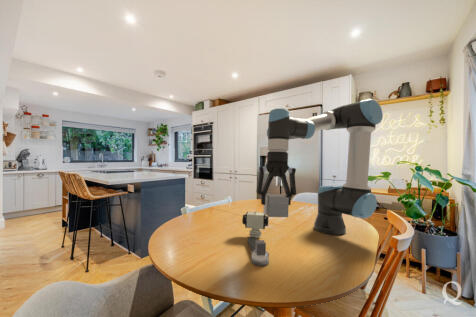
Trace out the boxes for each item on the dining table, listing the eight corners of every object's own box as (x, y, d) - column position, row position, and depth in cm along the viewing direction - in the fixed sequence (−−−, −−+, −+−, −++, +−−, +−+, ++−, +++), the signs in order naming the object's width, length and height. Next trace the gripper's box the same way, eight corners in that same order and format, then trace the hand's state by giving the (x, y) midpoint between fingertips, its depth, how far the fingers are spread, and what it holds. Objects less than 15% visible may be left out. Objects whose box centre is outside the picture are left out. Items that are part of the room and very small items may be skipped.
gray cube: (281, 212, 78) (282, 194, 78) (288, 217, 71) (288, 197, 71) (263, 211, 77) (264, 193, 77) (268, 216, 70) (269, 196, 70)
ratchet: (258, 241, 87) (258, 225, 88) (270, 266, 68) (271, 245, 68) (244, 242, 87) (244, 226, 87) (253, 266, 67) (253, 245, 67)
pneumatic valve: (267, 240, 90) (268, 213, 90) (241, 237, 92) (242, 211, 92) (268, 235, 95) (268, 210, 95) (244, 233, 97) (244, 208, 97)
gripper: (299, 153, 79) (297, 211, 79) (249, 150, 77) (247, 210, 76) (308, 152, 72) (305, 216, 71) (253, 149, 69) (250, 216, 69)
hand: (275, 213), depth 74 cm, fingers closed on gray cube, 7 cm apart
